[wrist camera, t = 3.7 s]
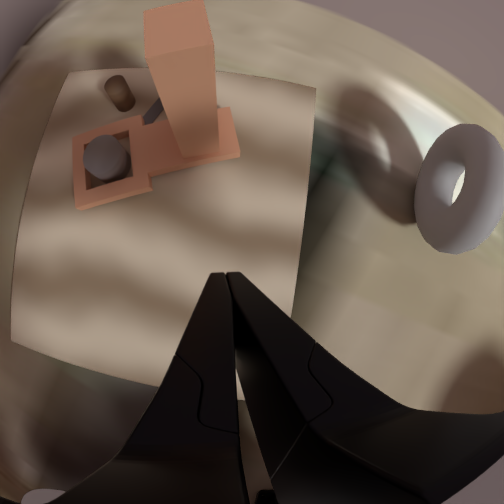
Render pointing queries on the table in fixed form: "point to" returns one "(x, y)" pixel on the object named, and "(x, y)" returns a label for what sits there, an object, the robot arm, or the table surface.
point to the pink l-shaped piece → (167, 109)
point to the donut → (472, 193)
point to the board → (155, 223)
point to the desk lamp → (41, 496)
